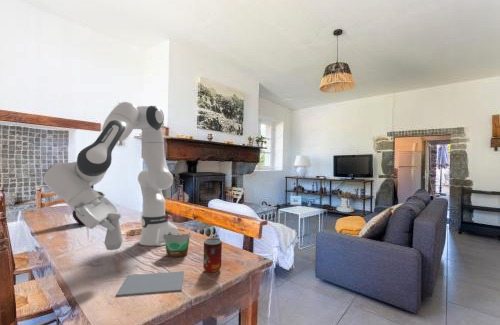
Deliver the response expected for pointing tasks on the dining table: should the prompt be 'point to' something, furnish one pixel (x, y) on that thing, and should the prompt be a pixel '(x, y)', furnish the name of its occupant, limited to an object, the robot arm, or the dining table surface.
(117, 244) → the salt shaker
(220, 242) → the soda can
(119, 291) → the mat
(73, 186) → the robot arm
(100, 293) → the dining table surface
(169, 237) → the food container
